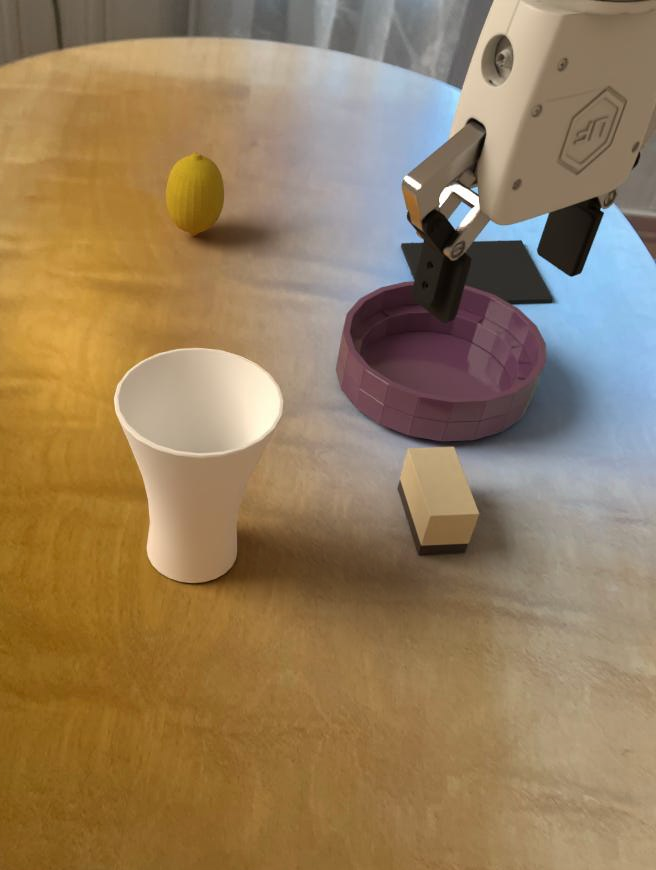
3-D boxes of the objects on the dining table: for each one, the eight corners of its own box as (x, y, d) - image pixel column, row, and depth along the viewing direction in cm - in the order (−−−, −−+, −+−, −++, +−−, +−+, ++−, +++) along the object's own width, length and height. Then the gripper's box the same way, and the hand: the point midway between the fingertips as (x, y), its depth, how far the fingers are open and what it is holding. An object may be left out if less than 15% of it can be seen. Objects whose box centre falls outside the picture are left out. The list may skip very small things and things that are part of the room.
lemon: (233, 235, 98) (238, 153, 92) (195, 257, 96) (198, 174, 90) (191, 214, 101) (194, 133, 94) (153, 234, 98) (153, 153, 92)
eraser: (441, 486, 77) (454, 446, 74) (465, 553, 73) (479, 513, 70) (396, 488, 77) (407, 448, 74) (417, 555, 72) (430, 515, 69)
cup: (191, 479, 77) (198, 326, 66) (294, 552, 72) (319, 401, 62) (88, 548, 72) (78, 396, 62) (192, 630, 68) (200, 482, 57)
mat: (520, 243, 99) (521, 239, 98) (552, 302, 93) (553, 299, 92) (400, 246, 98) (401, 242, 98) (424, 306, 92) (425, 302, 91)
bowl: (498, 323, 90) (512, 278, 87) (554, 443, 80) (573, 397, 77) (320, 328, 89) (327, 283, 86) (355, 450, 79) (365, 405, 76)
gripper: (515, 11, 40) (422, 365, 54) (795, -56, 46) (648, 279, 60) (398, -49, 44) (339, 295, 58) (670, -105, 50) (559, 220, 64)
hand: (496, 286), depth 59 cm, fingers open, 9 cm apart
